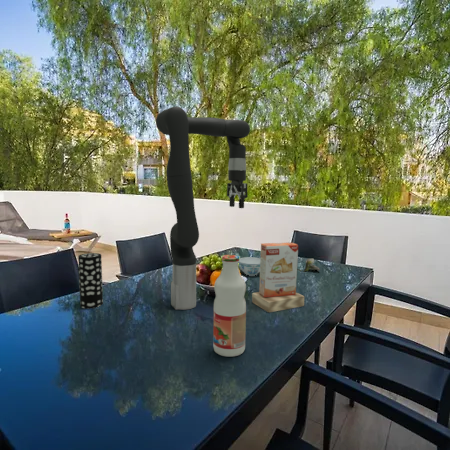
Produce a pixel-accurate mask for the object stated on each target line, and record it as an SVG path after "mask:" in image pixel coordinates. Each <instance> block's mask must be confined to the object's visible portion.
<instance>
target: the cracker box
mask: <svg viewBox="0 0 450 450" xmlns="http://www.w3.org/2000/svg"><path fill="white" fill-rule="evenodd" d="M298 255H299V245H298V243H294V242H270V243H269V242H268V243H260V272H259V289H258V292H259V293H260V294H261V295H262V296H263V297H276V296H288V295H296V293H297V276H298V275H297V274H298V270H297V269H298V259H299V257H298Z"/></svg>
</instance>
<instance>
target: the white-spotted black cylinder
mask: <svg viewBox="0 0 450 450" xmlns="http://www.w3.org/2000/svg"><path fill="white" fill-rule="evenodd" d="M77 259H78V278H79V279H78V282H79V302H80V303H79V305H80V308H81V309H85V310H86V309H87V310H88V309H90V308H92V309H96V307H97V308H99V306H100V307H102V306H103V305H104V299H103V297H104V295H103V269H102V268H103V267H102V266H103V265H102V253H98V252H97V253H96V252H91V253H90V252H89V253H88V252H87V253H81V254H80V255H79V254H78V257H77ZM102 304H103V305H102ZM101 305H102V306H101ZM90 310H91V309H90Z"/></svg>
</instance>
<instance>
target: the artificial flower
mask: <svg viewBox="0 0 450 450" xmlns="http://www.w3.org/2000/svg"><path fill="white" fill-rule="evenodd" d="M314 263H315V259H314V258H307V259H306V260H305V267H304V270H301V269H298V268H297V271H299V272H301V271H303V273H305V272H308V271H309V270H311V271H315V270H317V272H319V271H320V270H321V269H320V267H318V266H317V265H315V264H314Z"/></svg>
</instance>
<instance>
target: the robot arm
mask: <svg viewBox="0 0 450 450" xmlns="http://www.w3.org/2000/svg"><path fill="white" fill-rule="evenodd" d="M155 125H156V128H157V129H158V131H159V132H160V133H162V135H166V136H169V147H170V148H169V156H168V160H167V164H166V182H167V189H168V194H169V196H170V198H171V201H172V205H173V207H174V210H175V214H176V223H174V224H173V225H172V227H171V230H170V232H169V233H170V234H169V237H170V238H169V240H170V241H169V244H170V245H169V247H170V256H171V260H172V281H171V282H170V305H171V306H172V308H173V309H174V310H184V311H185V310H191V309H193V308H196V307H197V256H196V253H195V252H194V246H196V244H198V241H199V239H200V231H199V226H198V221H197V216H196V211H195V210H196V209H195V201H194V198H195V197H194V188H193V187H194V185H193V176H192V170H191V169H192V168H191V159H190V149H189V145H190V144H189V142H190V141H189V137H190V135H193V134H194V135H202V136H208V137H209V136H210V137H218V138H219V137H220V138H225V137H226V140H227V145H228V147H229V153H228V156H229V157H228V158H229V159H228V171H227V172H228V179H227V181H228V182H227V184H226V185H227V186H226V197H228V199H229V204H228V206H229V207H231V208H233V207H235V203H236V202H235V200H236V199H235V197H236V195H237V197H238V208H239V209H244V208H245V199H247V198H248V183H246V182H245V183H244V181H247V161H246V160H247V159H246V158H247V156H246V155H247V151H246V150H247V149H246V146H245V145H244V144H242V143H241V139H244V138H247V136H249V134H250V132H251V127H250V124H249V123H248V122H247V121H245V120H243V119H224V118H217V117H211V116H210V117H206V116H205V117H192V116H188V115H187V113H186V111H185V109H183V108H182V107H180V106H171V107H169V108H166V109H164V110H162V111H160V112H159V113H158V114H157V115H156V118H155ZM229 181H230V182H229Z"/></svg>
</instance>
